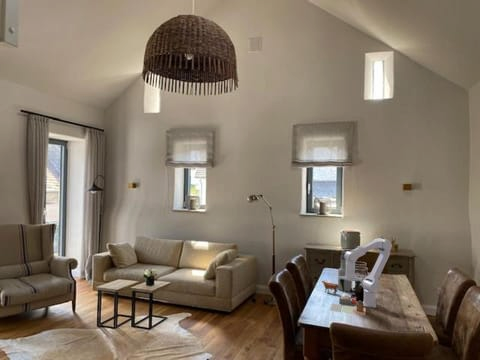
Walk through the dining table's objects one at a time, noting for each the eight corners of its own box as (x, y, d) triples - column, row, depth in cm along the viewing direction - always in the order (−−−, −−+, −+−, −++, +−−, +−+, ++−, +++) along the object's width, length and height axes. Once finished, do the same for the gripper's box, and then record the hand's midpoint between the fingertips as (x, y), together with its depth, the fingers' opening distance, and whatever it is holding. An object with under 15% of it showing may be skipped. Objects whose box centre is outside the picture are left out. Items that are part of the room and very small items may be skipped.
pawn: (356, 309, 226) (356, 299, 226) (363, 310, 225) (363, 300, 225) (356, 311, 222) (356, 301, 222) (363, 312, 221) (363, 302, 221)
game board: (331, 303, 237) (331, 303, 237) (366, 308, 230) (366, 307, 230) (329, 311, 222) (329, 310, 222) (365, 316, 215) (365, 315, 215)
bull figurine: (322, 289, 267) (323, 278, 267) (339, 294, 257) (339, 282, 257) (319, 291, 264) (319, 279, 264) (336, 295, 254) (336, 283, 254)
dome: (341, 299, 241) (341, 292, 241) (349, 300, 240) (349, 293, 240) (341, 302, 237) (341, 294, 237) (348, 303, 235) (348, 295, 235)
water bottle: (346, 287, 275) (347, 250, 275) (354, 291, 266) (355, 252, 266) (335, 288, 272) (336, 250, 272) (342, 292, 262) (343, 253, 262)
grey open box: (339, 300, 243) (340, 295, 243) (357, 303, 239) (357, 297, 239) (339, 304, 236) (339, 298, 236) (357, 306, 232) (357, 300, 232)
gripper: (338, 270, 230) (337, 292, 230) (362, 273, 225) (361, 295, 225) (338, 268, 236) (338, 289, 236) (362, 270, 232) (361, 292, 232)
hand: (349, 292), depth 231 cm, fingers open, 7 cm apart
